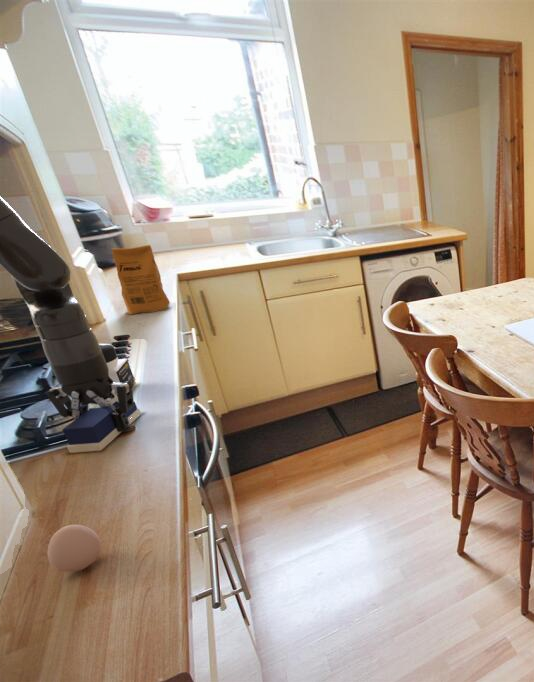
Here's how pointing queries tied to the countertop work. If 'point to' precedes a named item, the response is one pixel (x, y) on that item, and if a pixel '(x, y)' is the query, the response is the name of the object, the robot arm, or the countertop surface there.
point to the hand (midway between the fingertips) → (106, 430)
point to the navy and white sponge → (94, 429)
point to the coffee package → (140, 279)
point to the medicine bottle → (117, 366)
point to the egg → (73, 548)
